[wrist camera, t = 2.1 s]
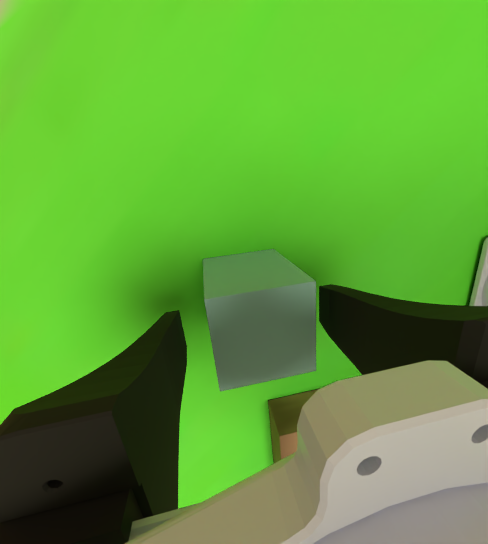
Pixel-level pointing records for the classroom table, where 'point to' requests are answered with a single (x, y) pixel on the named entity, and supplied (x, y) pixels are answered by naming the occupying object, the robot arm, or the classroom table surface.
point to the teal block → (259, 317)
